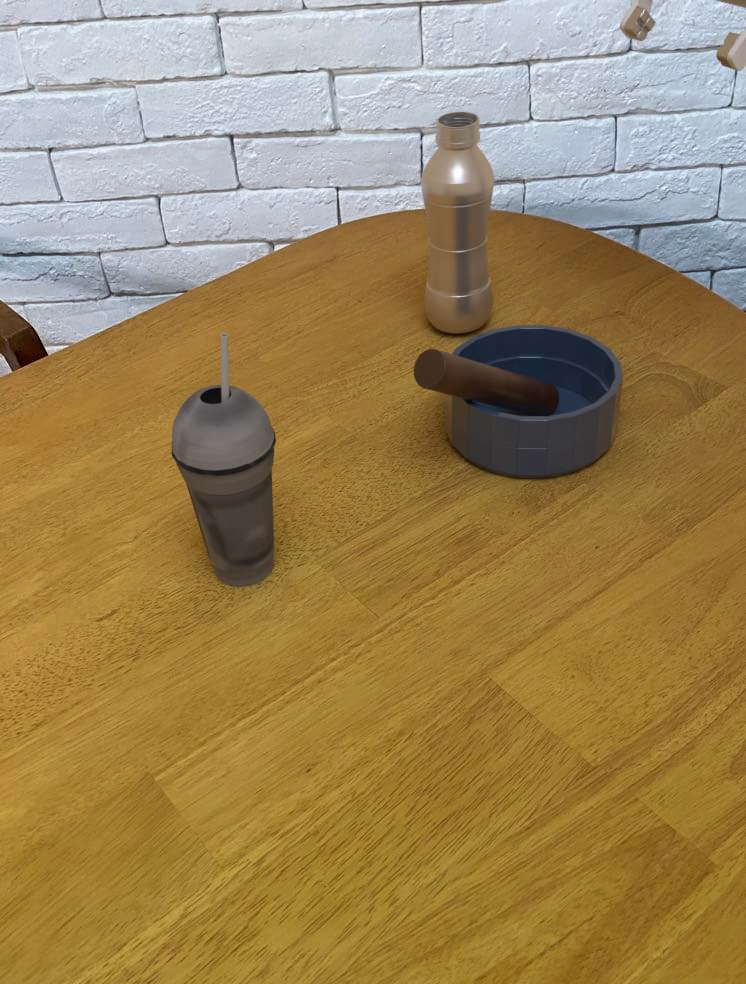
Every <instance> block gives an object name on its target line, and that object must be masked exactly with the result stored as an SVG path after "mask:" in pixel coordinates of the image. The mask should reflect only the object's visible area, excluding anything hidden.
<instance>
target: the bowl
mask: <svg viewBox="0 0 746 984" xmlns="http://www.w3.org/2000/svg"><path fill="white" fill-rule="evenodd" d="M451 354H453V355H456V356H460V357H463V358H467V359H470V360H473V361H477V362H480V363H483V364H487V365H490V366H494V367H497V368H500V369H504V370H507V371H510V372H514V373H517V374H521V375H524V376H527V377H531V378H534V379H537V380H541V381H544V382H548V383H551V384H553V385H554V386H555V387H556V388H557V390H558V393H559V404H558V407H557V409H556V410H555V411H554V413H553V414H551V415H550V416H532V415H528V414H524V413H520V412H516V411H512V410H508V409H504V408H500V407H496V406H492V405H488V404H484V403H480V402H476V401H472V400H468V399H464V398H460V397H456V396H452V395H448V394H444V431H445V433H446V436H447V437H448V439H449V441H450V444H451V446H453V447H454V448H455V450H456V451H457V452H458V453H459V454H460V455H461V456H462V457H463V458H464V459H465V460H467V461H468V462H470V463H471V464H473V465H474V466H476V467H478V468H480V469H482V470H485V471H487V472H490V473H493V474H496V475H500V476H504V477H509V478H514V479H515V478H516V479H526V480H528V479H529V480H530V479H531V480H536V479H538V480H540V479H551V478H557V477H561V476H566V475H569V474H573V473H575V472H578V471H581V470H583V469H584V468H586V467H588V466H590V465H592V464H594V463H595V462H596V461H597V460H598V459H600V458H601V457H602V455H603V454H605V453H606V452H607V451H608V450H609V449H611V448H610V447H611V446H612V444H613V442H614V439H615V437H616V435H617V432H618V425H619V415H620V408H621V407H620V405H621V397H622V388H623V380H624V376H623V370H622V363H621V361H620V360H619V358H618V357H617V356H616V354H615V353H614V352H613V350H612V349H611V348H609V347H608V346H607V345H606V344H604V343H602V342H601V341H599V340H597V339H596V338H594V337H593V336H590V335H587V334H584V333H583V332H580V331H579V332H578V331H576V330H575V329H570V328H565V327H559V326H552V325H547V324H519V325H518V324H517V325H511V326H504V327H497V328H494V329H490V330H488V331H485V332H482V333H480V334H476V335H474V336H472V337H470V338H469V339H467V340H466V341H464V342H463V343H461V344H460V345H459V346H457V347H456V348H454V350H453V351H452V353H451Z"/></svg>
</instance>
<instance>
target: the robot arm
mask: <svg viewBox="0 0 746 984" xmlns="http://www.w3.org/2000/svg"><path fill="white" fill-rule="evenodd" d="M715 1H716V2H721V3H724V4H728V5H733V6H736V7H739V8H743V9H746V0H715ZM652 7H653V0H630V6H629V8H628V9H627V11H626V12H625V15H624V16H623V18H622V19H621V20H620V23H619V29H620V31H621V32H622V33H623V34H624V36H625V37H626V38H628V39H632V40H634V41H635V40H636V41H638V42H644V41H645V40H646V38H647V37H648V34H649V32H651V31H652V30H653V28H654V26H655V25H656V24H657V22H656V21H655V19H654V18H653V17H652V16H651V11H652ZM715 57H716V59H717V61H718V62H719V63H720V65H721V66H722V67H725V68H728V69H731V70H733V71H738V72H741V71H743V70H744V69H745V67H746V27H745V28H744V29H743V30H742V31H740V32H739V33H735V32H731V31H728V34H727V35H726V37H725V38H724V40H723V44H721V45H720V46H719V48H718V49H717V51H716V55H715Z"/></svg>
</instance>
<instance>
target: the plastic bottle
mask: <svg viewBox="0 0 746 984" xmlns="http://www.w3.org/2000/svg"><path fill="white" fill-rule="evenodd" d="M480 121H481V120H480V117H479V115H478V114H476V113H473V112H471V111H451V112H448V113H444V114H442V115H440V116H439V117H438V118H437V120H436V134H435V140H434V141H435V144H436V145H437V146H438V147H437V149H436V150H435V151H434V152H433V154H432V155H431V157H430V158H429V160H428V161H427V163H426V165H425V167H424V169H423V171H422V175H421V179H420V186H421V193H422V201H423V207H424V212H425V217H426V223H427V224H426V227H427V235H428V249H429V251H428V267H427V279H426V282H425V283H426V284H425V289H424V300H423V306H424V311H425V315H426V319H427V320H428V321H429V323H430V324H431V325H432V326H433V327H434V328H435V329H437V330H438V331H440V332H443V333H447V334H466V333H471V332H473V331H476V330H478V329H480V328H481V327H483V325H484V324H485V323H486V322H487V321H488V319H489V318H490V317H491V314H492V309H493V305H494V292H493V285H492V281H491V277H490V270H489V255H488V233H489V219H490V213H491V206H492V201H493V200H492V199H493V194H494V186H495V185H494V184H495V175H494V171H493V167H492V165H491V163H490V162H489V160H488V158H487V157H486V155H485V153H484V152H483V151H482V150H481V148H480V147H479V145H478V143H480V141H481V132H480Z"/></svg>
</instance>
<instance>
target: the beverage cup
mask: <svg viewBox="0 0 746 984" xmlns="http://www.w3.org/2000/svg"><path fill="white" fill-rule="evenodd" d="M219 336H220V337H219V338H220V339H219V340H220V384H214V385H210V386H207V387H203V388H200V389H199V390H197V391H195V392H194V393H192V394H191V395H190V396H189V397H187V399H186V400H184V402H183V403H182V404H181V405H180V407H179V408H178V411H177V413H176V416H175V418H174V419H173V423H172V428H171V456H172V458H173V460H174V461H175V463H176V464H175V465H176V466H177V469H178V471H179V473H180V475H181V477H182V479H183V480H184V482H185V485H186V487H187V491H188V495H189V497H190V500H191V504H192V507H193V511H194V513H195V514H194V515H195V517H196V521H197V523H198V526H199V530H200V532H201V533H200V534H201V536H202V539H203V543H204V546H205V549H206V553H207V555H208V559H209V560H210V562H211V565H212V567H213V570H214V574H215V576H216V577H217V579H218V580H219V581H221V583H223V584H225V585H228V586H232V587H248V586H253V585H254V584H258V583H261V582H262V581H263V580H265V579H267V577H268V576H269V575H270V574H271V573H272V571H273V568H274V565H275V564H274V551H275V533H274V501H273V498H274V497H273V466H274V461H275V446H276V444H277V437H276V432H275V429H274V427H273V426H272V422H271V418H270V416H269V414H268V412H267V411H266V409H265V408H264V407H263V406H262V404H261V402H259V400H258V399H257V398H256V397H255V396H253V395H252V394H251V393H250V392H248V391H246V390H244V389H242V388H240V387H237V386H233V385H230V355H229V354H230V353H229V352H230V351H229V334H228V333H226V332H222V333H221V334H219Z"/></svg>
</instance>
